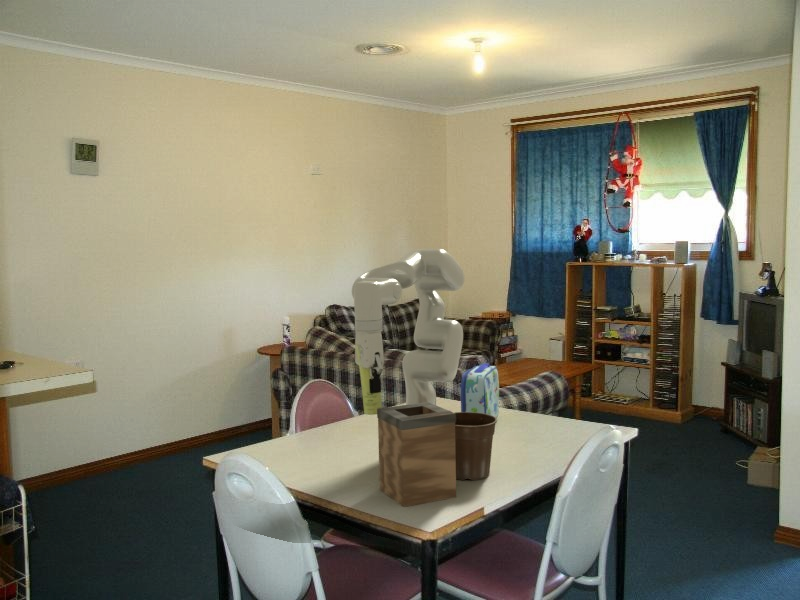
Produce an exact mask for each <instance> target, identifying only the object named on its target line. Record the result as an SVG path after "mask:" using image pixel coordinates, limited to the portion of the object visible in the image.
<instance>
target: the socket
mask: <svg viewBox="0 0 800 600" xmlns="http://www.w3.org/2000/svg"><path fill="white" fill-rule="evenodd" d="M376 415H377V417H376V418H377V428H378V429H377V430H378V431H377V432H378V436H377V437H378V473H379V477H378V479H379V490H380V491H382V492H383V493H384V494H386V495H387V496H388V497H390V498H391V499H392V500H394V501H395V502H396V503H398V504H399V505H401V506H402V507H403V508H406V507H411V506H417V505H422V504H426V503H432V502H437V501H442V500H447V499H452V498H457V479H456V453H455V423H456V413H455V412H453V411H452V410H451V411H450V410H448V409H446V408H443V407H441V406H438V405H437V404H436V405H434V404H431V403H429V402H425V403H417V404H409V405H406V404H403V405H401V404H400V405H395V406H387V407H382V408H378V409H377V414H376Z"/></svg>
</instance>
